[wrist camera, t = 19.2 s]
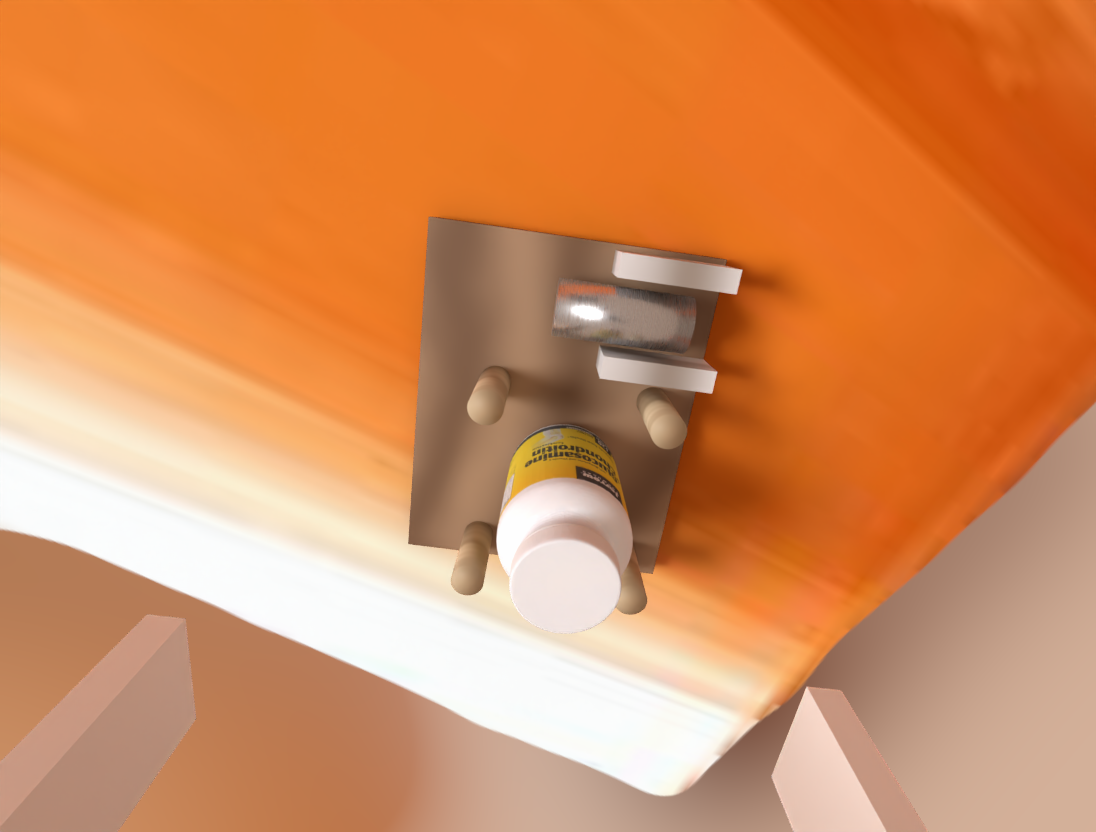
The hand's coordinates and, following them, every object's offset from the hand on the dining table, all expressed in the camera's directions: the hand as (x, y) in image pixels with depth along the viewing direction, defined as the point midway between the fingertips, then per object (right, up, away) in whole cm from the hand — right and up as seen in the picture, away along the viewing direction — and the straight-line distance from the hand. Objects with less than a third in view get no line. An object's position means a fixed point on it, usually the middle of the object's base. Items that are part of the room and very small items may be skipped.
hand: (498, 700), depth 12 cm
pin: (+5, +12, +18) cm, 22 cm away
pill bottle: (+2, +3, +22) cm, 22 cm away
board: (+1, +7, +22) cm, 23 cm away
